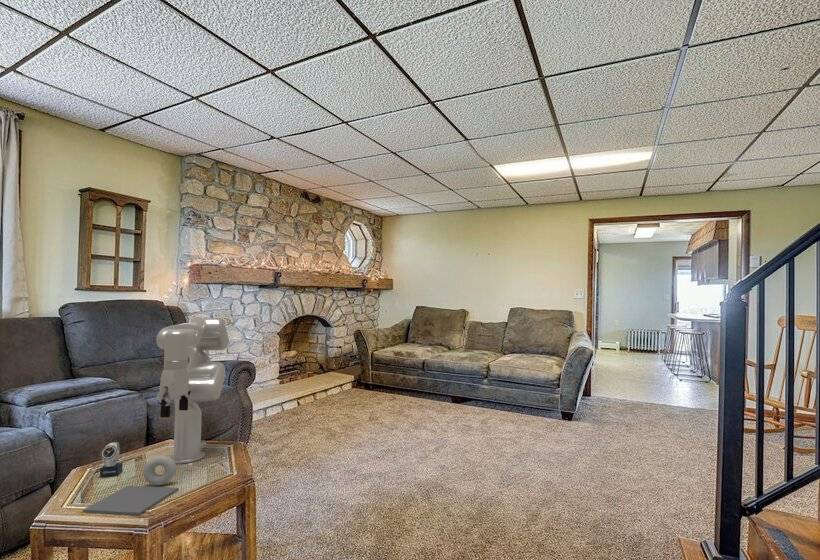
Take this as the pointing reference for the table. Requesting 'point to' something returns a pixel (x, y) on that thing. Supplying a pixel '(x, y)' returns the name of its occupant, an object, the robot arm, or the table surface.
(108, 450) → the watch
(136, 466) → the table surface
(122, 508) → the mat
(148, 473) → the donut
